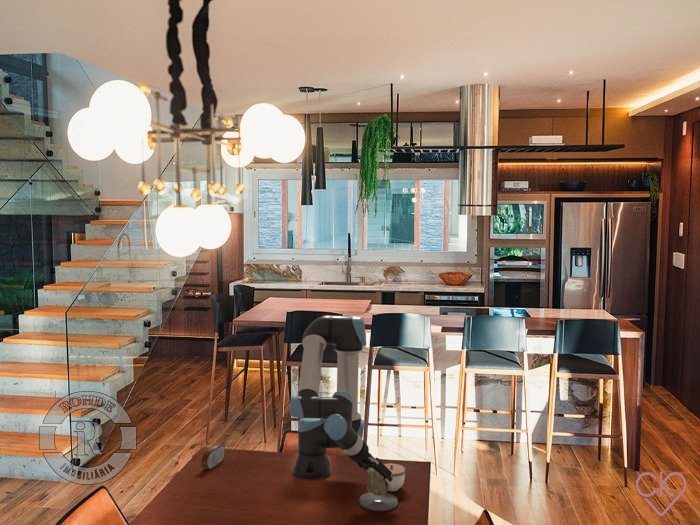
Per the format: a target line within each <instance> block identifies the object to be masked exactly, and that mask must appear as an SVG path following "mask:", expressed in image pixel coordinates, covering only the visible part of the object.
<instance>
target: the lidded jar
mask: <svg viewBox="0 0 700 525" xmlns="http://www.w3.org/2000/svg"><path fill="white" fill-rule="evenodd" d="M383 464H384V465H385V466H386V467H387V468H388V469H389V470H390V471H391V472H392V474H391V476H392V477H393V478H394V479H395V480H396V482H395V484H394V486H393V488H392V487H391V486H390V485H389V489H388V491H387V492H396V491H398V490H399V489H401V487H402V486H403V485H404V483H405V477H406V468H405V467H404V466H403V465H401V464H397V463H383Z"/></svg>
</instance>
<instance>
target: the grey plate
mask: <svg viewBox="0 0 700 525" xmlns="http://www.w3.org/2000/svg"><path fill="white" fill-rule="evenodd" d="M398 501H399V500H398V498H397V496H395V495H394V494H391V493H388V492H386V494H385V495H384V496H377V495H374V494H373V493H371V492H370V491H368V492H366V493H363V494H361V495H360V497H359V501H358V502H359V505H360V506H361V507H362V508H364V509H365V510H368V511H373V512H388V511H392V510H394V509H396V507H397V506H398V504H399V502H398Z"/></svg>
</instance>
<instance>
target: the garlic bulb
mask: <svg viewBox="0 0 700 525" xmlns="http://www.w3.org/2000/svg"><path fill="white" fill-rule="evenodd" d="M366 483H367V485H366V490H367V492H371V493H373V494H374V495H377V496H384V495H385V494H386V493H388V492H389V491H388V489H389V484H388V483H387V482H386V481H385V480H383V476H382V475H380V474H379V473H378V472H377V471H376V470H374V469H372V470H371V471H370V472H369V473H368V474H367V477H366Z"/></svg>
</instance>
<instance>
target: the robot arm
mask: <svg viewBox="0 0 700 525" xmlns="http://www.w3.org/2000/svg"><path fill="white" fill-rule="evenodd" d="M301 345H302V347H303V353H302V360H301V367H300V375H299V383H298V390H297V395H293V396H291V398H290V401H289V414H290V416H291V417H292V418H297V419H299V420H298V428H297V432H298V434H297V435H298V436H297V437H298V438H297V439H298V441H297V442H298V443H297V445H298V446H297V457H296V460H295V462H294V465H293V469H292V470H293V472H292V473H293V475H294V476H295V477H298V478H301V479H305V480H318V479H323V478H326V477H328V476H330V474H331V469H332V468H331V464H330V460H329V458H328V454H327V449H334V450H335V449H338V450H342V453H343V454H346V456H348V457H349V459H350V460H351V461H353V462H355V463H356V465H357V466H358V467H359V468H362V469H363V470H364V471H366V473H368V474H369V472H370V471H371V470H372V469H374V470H376V471H377V472H378V473H379V474H380V475H382V476H383V480H385V481H386V482H387V483H388V484H389V485H390V486H391V487H392V488H393V486H394V484H395V482H396V480H395V479H394V478H393V477H392V476H391V474H392V472H391V471H390V470H389V469H388V468H387V467H386V466H385V465H384V464H385V463H383V462H382V461H381V460H380V458H379V457H374V456H373V455H372V454H371V453H370V452H369V451H370V450H369V449H370V448H369V444H367V443H366V441H364V440H363V437H364V430H365V419H362V415H361V413H359V412H358V411H359V410H358V406H359V405H358V403H359V402H358V401H359V361H360V359H359V357H360V353H361V352H362V351H363V349H364V348H363V347H365V346H367V337H366V326H365V320H364V318H363V317H362V316H355V315H330V314H329V315H328V314H326V315H322V316H319V317H317V318H316V319H314V320H313V321H312V322H311V323H310V324H309V325H308V326H307V328H306V329H305V331H304V332H303V336H302V341H301ZM327 345H332V346H333V350H334V351H335V352H336V353H337V357H336V358H337V360H336V361H337V363H336V364H337V366H336V391H335V392H334V393H333V394H332V395H331V396H319V394H320V383H321V375H322V367H323V366H322V365H323V364H322V363H323V356H324V355H323V354H324V351H325V349H326V347H327Z"/></svg>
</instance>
